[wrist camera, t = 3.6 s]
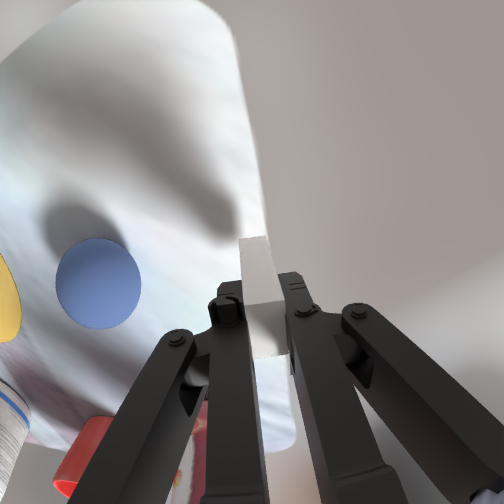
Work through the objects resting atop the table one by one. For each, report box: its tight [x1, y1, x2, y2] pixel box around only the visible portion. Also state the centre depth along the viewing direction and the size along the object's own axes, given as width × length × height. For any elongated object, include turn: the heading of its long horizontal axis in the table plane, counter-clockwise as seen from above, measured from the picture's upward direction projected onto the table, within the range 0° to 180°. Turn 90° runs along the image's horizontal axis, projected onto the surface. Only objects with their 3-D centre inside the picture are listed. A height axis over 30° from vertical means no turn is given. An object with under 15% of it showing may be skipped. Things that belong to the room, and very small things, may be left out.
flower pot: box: [52, 416, 114, 498], centre depth 23 cm, size 11×11×10 cm
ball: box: [56, 238, 141, 329], centre depth 17 cm, size 6×6×6 cm
